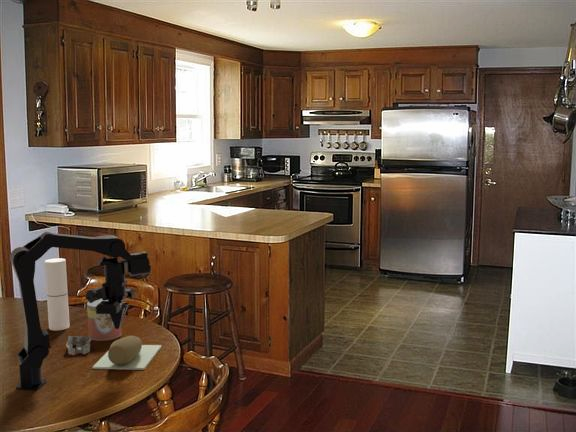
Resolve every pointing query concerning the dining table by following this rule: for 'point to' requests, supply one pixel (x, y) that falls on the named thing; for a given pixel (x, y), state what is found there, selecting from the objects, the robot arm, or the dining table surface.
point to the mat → (136, 364)
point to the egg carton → (78, 344)
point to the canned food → (101, 324)
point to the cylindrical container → (57, 294)
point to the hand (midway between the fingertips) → (117, 328)
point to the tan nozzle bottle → (124, 350)
